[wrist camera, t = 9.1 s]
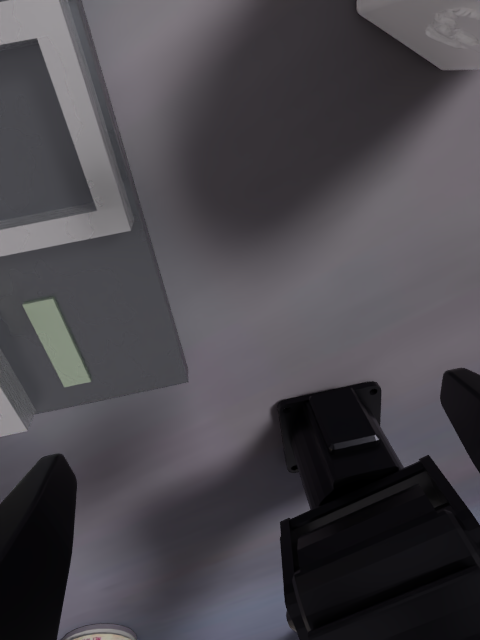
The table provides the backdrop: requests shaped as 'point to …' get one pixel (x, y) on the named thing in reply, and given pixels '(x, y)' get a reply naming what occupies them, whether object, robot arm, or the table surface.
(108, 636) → the aerosol can
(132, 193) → the panel
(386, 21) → the jar
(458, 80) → the table surface
